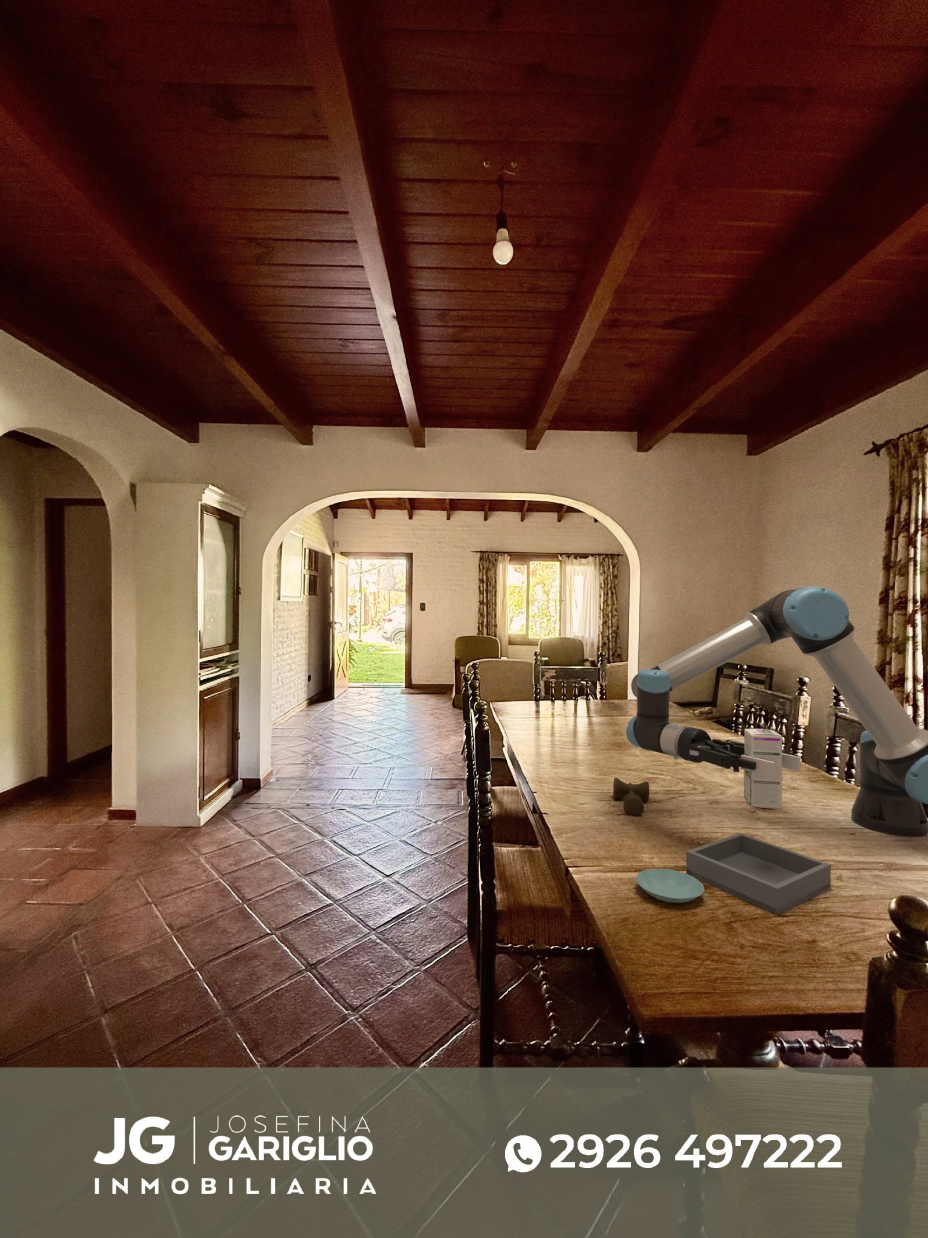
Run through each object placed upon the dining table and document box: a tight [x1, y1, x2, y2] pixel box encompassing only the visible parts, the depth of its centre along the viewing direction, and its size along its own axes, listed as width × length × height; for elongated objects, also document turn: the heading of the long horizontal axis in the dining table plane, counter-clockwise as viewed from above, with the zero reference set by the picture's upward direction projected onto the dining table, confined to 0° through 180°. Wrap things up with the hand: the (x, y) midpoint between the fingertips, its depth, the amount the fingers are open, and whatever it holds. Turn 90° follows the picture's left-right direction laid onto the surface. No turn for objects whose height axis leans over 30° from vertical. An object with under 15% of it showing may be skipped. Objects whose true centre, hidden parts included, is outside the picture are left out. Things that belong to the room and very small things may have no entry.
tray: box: [685, 832, 832, 916], centre depth 108 cm, size 18×18×4 cm
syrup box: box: [743, 728, 783, 810], centre depth 112 cm, size 6×6×14 cm
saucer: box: [635, 868, 705, 904], centre depth 103 cm, size 12×12×2 cm
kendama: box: [612, 777, 650, 817], centre depth 153 cm, size 6×10×20 cm
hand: (786, 767), depth 108 cm, fingers closed on syrup box, 8 cm apart
